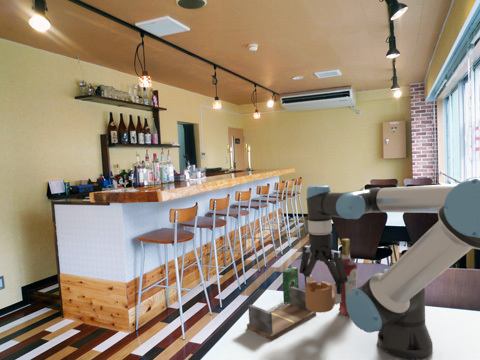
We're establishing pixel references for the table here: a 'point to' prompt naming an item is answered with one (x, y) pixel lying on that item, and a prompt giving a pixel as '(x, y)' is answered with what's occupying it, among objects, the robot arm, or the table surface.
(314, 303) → the bracket
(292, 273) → the coffee box
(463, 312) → the table surface
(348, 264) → the liquor
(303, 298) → the board
